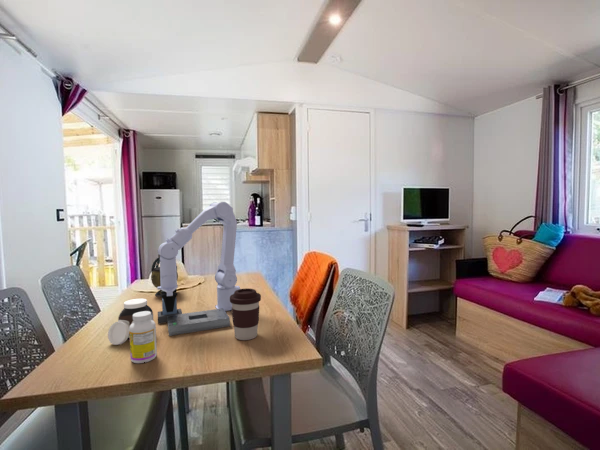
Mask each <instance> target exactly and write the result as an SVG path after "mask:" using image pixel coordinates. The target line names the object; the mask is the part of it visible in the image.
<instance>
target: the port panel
mask: <svg viewBox="0 0 600 450" xmlns="http://www.w3.org/2000/svg"><path fill="white" fill-rule="evenodd" d="M167 320H168V322H167V331H168V336H169V337H172V336H178V335H184V333H185V334H190V333H195V332H203V331H209V330H214V329H215V330H217V329H221V328H228V327H231V322H230V321H231V319H230V316H229V315H228V314H227V311H225V310H224V309H223V308H221V309H216V308H215V309H207V310H200V311H199V310H198V311H193V312H185V313H182V314H177V315H170V316H167Z"/></svg>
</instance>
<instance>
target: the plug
mask: <svg viewBox="0 0 600 450" xmlns="http://www.w3.org/2000/svg"><path fill="white" fill-rule="evenodd" d="M177 299H178V297H176V299H175V303H174V309H173V312H167V311H166V307H165V303H164V300H163V298H162V297H161V307H162V308H161V310H162V312H163V315H168V314H176V313H177V309H178V303H177V302H178V300H177Z"/></svg>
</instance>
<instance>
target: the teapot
mask: <svg viewBox="0 0 600 450" xmlns="http://www.w3.org/2000/svg"><path fill="white" fill-rule="evenodd" d="M150 269H151V274H150V279H151V283H152V285H153V287H154V288H156V289H157V287H160V286H161V283H160V255H159V254H157V257H156V258H155V260H154V261H153V262H152V265H151V268H150ZM176 270H177V271H178V266H177V264H176ZM178 274H179V273H178V272H177V281H178V280H179V275H178ZM161 291H163V290H158V291H157V292H156V293H155V294H154V296H155V297H157V296H158V298H159V297H160V298H162V296H161V294H162V293H161Z"/></svg>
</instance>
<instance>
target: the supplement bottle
mask: <svg viewBox="0 0 600 450" xmlns="http://www.w3.org/2000/svg"><path fill="white" fill-rule="evenodd" d="M153 320H154V319H153ZM153 320H151V312H150V311H142V312H137V313H135V314H133V321H134V323H132V324H131V325H130V327H129V336H130V340H129V355H130V356H129V357H130V360H131V362H132V363H134V364H144V362H145V363H148V362H151V361H152V360H154V359H156V357H157V354H158V352H157V350H158V349H157V330H156V329H157V327H156V321H153Z"/></svg>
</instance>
